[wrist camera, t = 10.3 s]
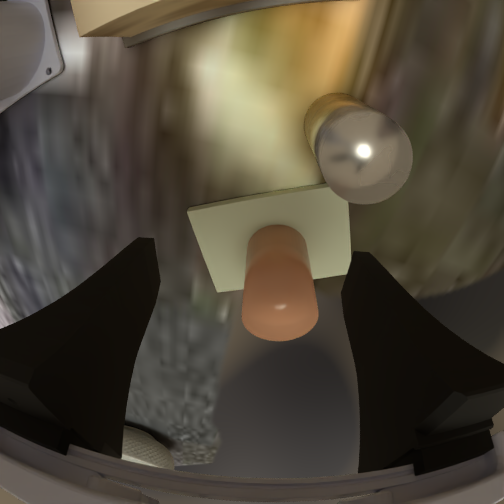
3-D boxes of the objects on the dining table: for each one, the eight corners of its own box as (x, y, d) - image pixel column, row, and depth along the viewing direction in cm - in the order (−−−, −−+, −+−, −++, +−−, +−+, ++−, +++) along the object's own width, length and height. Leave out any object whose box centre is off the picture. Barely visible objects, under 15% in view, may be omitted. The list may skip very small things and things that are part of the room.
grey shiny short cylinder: (309, 162, 18) (326, 210, 13) (298, 97, 16) (313, 119, 11) (373, 154, 17) (412, 198, 12) (367, 90, 15) (410, 110, 10)
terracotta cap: (251, 276, 22) (248, 343, 17) (242, 228, 20) (235, 293, 15) (308, 270, 22) (318, 337, 17) (304, 221, 20) (317, 285, 15)
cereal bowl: (175, 427, 43) (168, 466, 37) (180, 453, 53) (176, 483, 47) (79, 403, 42) (68, 438, 36) (103, 435, 52) (96, 463, 46)
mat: (218, 287, 24) (217, 292, 23) (188, 207, 20) (186, 212, 19) (349, 268, 22) (351, 273, 22) (344, 180, 18) (346, 184, 18)
